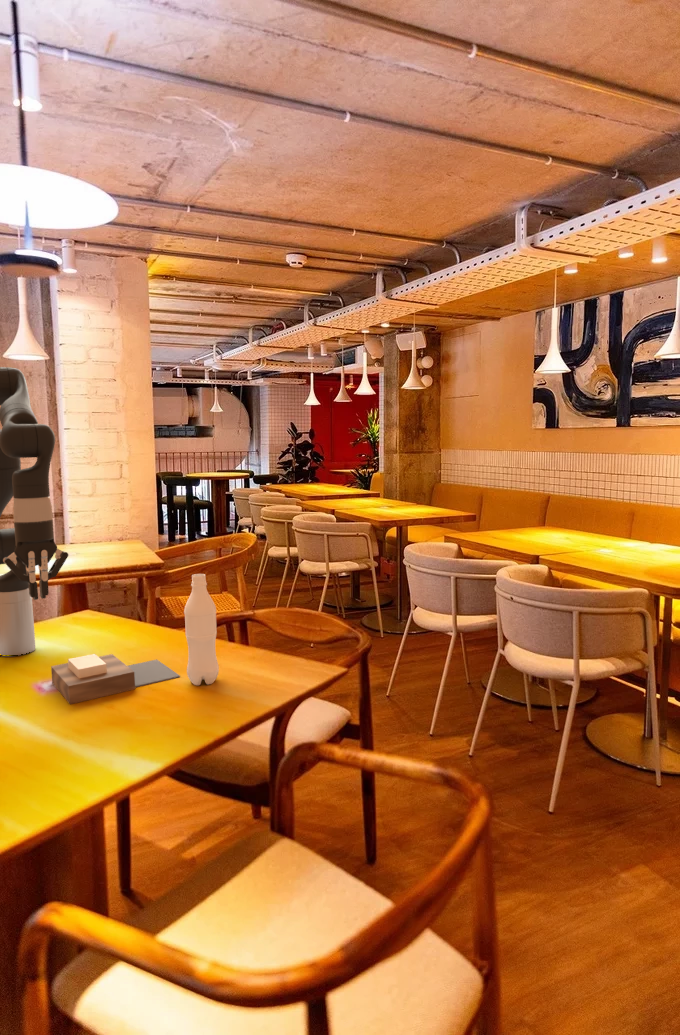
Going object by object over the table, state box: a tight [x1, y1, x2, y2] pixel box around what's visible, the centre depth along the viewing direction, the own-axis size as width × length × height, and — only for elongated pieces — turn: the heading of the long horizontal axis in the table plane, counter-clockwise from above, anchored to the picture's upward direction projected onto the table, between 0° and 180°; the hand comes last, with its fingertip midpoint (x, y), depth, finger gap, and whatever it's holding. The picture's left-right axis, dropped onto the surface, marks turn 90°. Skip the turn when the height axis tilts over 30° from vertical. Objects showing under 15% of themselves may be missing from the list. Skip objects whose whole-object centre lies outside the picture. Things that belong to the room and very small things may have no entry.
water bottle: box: [183, 573, 220, 686], centre depth 151 cm, size 7×7×25 cm
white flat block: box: [67, 653, 107, 678], centre depth 150 cm, size 9×6×2 cm, turn 36°
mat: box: [127, 659, 181, 688], centre depth 158 cm, size 15×11×1 cm
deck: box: [50, 653, 136, 705], centre depth 151 cm, size 16×14×4 cm
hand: (39, 598), depth 143 cm, fingers closed
